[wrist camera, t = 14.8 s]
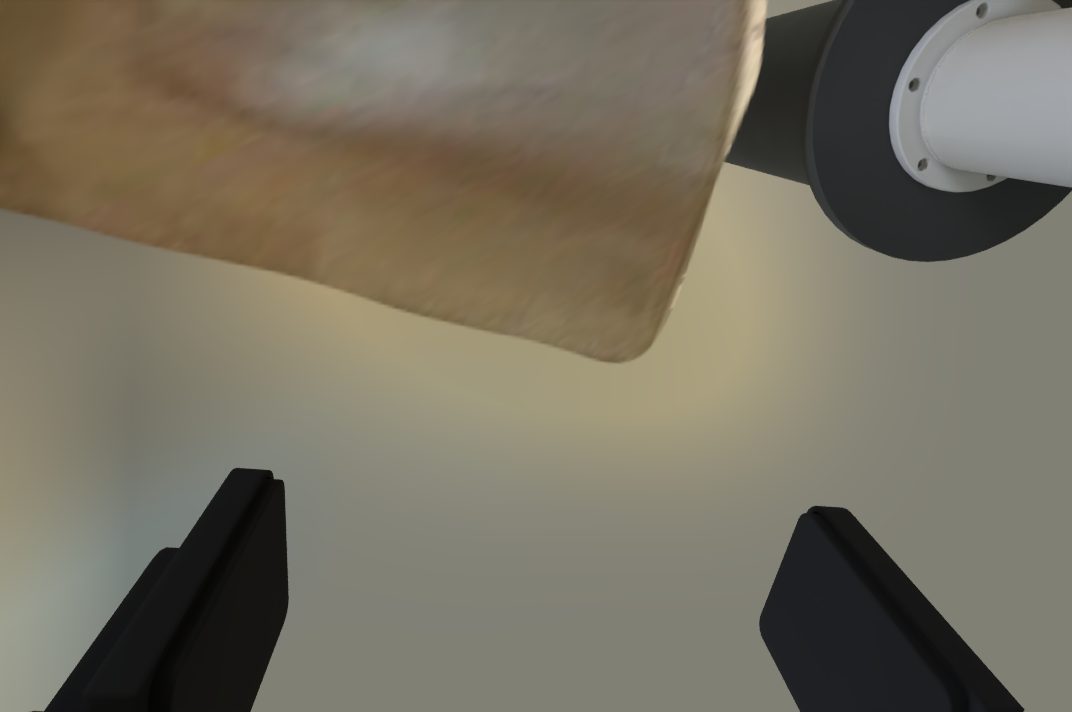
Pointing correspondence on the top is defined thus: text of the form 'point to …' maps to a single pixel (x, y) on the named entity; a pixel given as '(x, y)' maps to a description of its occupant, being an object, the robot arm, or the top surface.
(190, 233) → the top surface
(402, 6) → the top surface
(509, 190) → the top surface
